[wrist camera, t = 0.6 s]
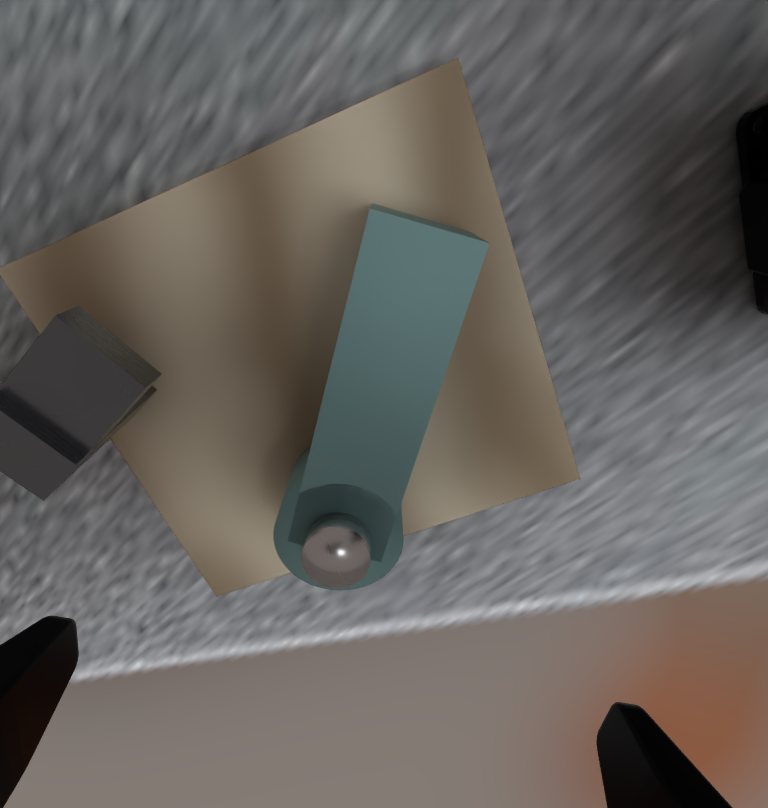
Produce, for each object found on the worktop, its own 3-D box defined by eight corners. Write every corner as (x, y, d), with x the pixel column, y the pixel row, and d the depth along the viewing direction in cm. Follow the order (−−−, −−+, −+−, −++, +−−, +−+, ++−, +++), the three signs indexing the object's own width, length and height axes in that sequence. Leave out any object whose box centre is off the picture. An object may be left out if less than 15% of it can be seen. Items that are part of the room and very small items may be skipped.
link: (384, 542, 20) (384, 625, 16) (279, 519, 19) (255, 598, 16) (487, 236, 16) (518, 254, 12) (355, 198, 15) (346, 204, 11)
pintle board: (452, 66, 15) (494, -4, 9) (569, 462, 20) (643, 576, 14) (21, 263, 17) (-163, 305, 12) (224, 575, 22) (168, 714, 17)
